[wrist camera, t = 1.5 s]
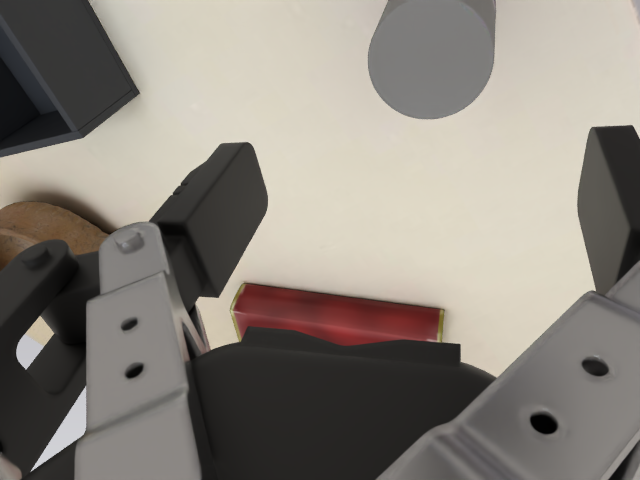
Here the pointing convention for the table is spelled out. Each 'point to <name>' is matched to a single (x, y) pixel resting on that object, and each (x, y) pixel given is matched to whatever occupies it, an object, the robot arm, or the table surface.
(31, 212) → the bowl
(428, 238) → the table surface
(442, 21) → the container
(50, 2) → the bin
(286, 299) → the hardcover book
